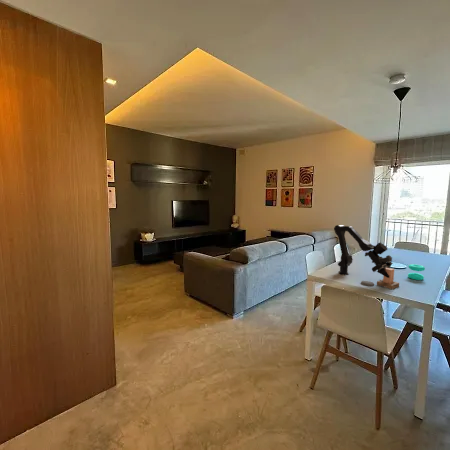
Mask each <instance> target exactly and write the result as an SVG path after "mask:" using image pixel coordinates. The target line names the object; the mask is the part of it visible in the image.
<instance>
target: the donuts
mask: <svg viewBox="0 0 450 450" xmlns="http://www.w3.org/2000/svg"><path fill="white" fill-rule="evenodd" d="M408 268H409V270H410V271H415V272H409V273H407V277H408V278H409V279H412V280H416V281H422V280H425V276H424V274H421V273H418V272H424V271H425V270H426V267H425V266H423V265H422V264H416V263H414V264H413V263H412V264H409V265H408Z"/></svg>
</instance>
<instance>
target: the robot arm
mask: <svg viewBox="0 0 450 450" xmlns="http://www.w3.org/2000/svg"><path fill="white" fill-rule="evenodd" d="M333 230H334V233H335V234H336V236H337V238H338V242H339V243H338V244H339V247H340V248H339V249H340V251H341V252H340V253H341V255H340V261H339V262H338V263H337V266H338V267H339V271H338V273H339V275H348V276H349V275H350V274H349V273H348V270H349V266H351V264H353V261H354V259H353V255H352V254H350V253H349V251H348V249H349V248H348V245H347V241H346V237H345V235H346V232H347V233H348V234H350V236H351V237H352V238H353V239H354V240H355V241H356V243H357V244H358V245H359V248H360V250H361V251H363V252H365V253H364V257H369V259H371V263H372V264H374V265H375V266H373V267H372V268H371V271H372V272H373V273H375V272H376V273H378V274H380V275H382V276H383V275H384V276H386V277H387V278H389V275H388V273H387V272H386V270H385V268H391V267H392V265H393V264H394V263H393V262H392V261H393V257H392V256H391V255H390V254H389V255H386V256H385V257H382V256H380V255H383V253H385V252H387V251H388V247H387V245H385V244H384V243H382V242H378V243H377V244H376V245H373V244H372V243H371V242H370V241H368V240H366V239H365V238H363V237H362V236H361V235H360V234H359V232H358V231H357V230H356V229H355V228H354V227H353V226H352V225H349V226H348V225H344V224H337V225H334V227H333Z"/></svg>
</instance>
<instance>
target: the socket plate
mask: <svg viewBox="0 0 450 450" xmlns="http://www.w3.org/2000/svg"><path fill="white" fill-rule="evenodd" d="M376 285H377V286H379V287H382V286H383V288H385V289H390V290H394V289H396V288H399V287H400V282H398V281H394V280H393V284H388V283H384V282H383V279H380V280H377V281H376Z"/></svg>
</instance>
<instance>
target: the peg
mask: <svg viewBox="0 0 450 450" xmlns="http://www.w3.org/2000/svg"><path fill="white" fill-rule="evenodd" d="M385 270H386V272H387V273H388V275H389V278H387V277H386V276H384V275H382V277H383V282H384V283H388V284H393V281H394V279H395V268H391V267H390V268H385Z"/></svg>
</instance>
